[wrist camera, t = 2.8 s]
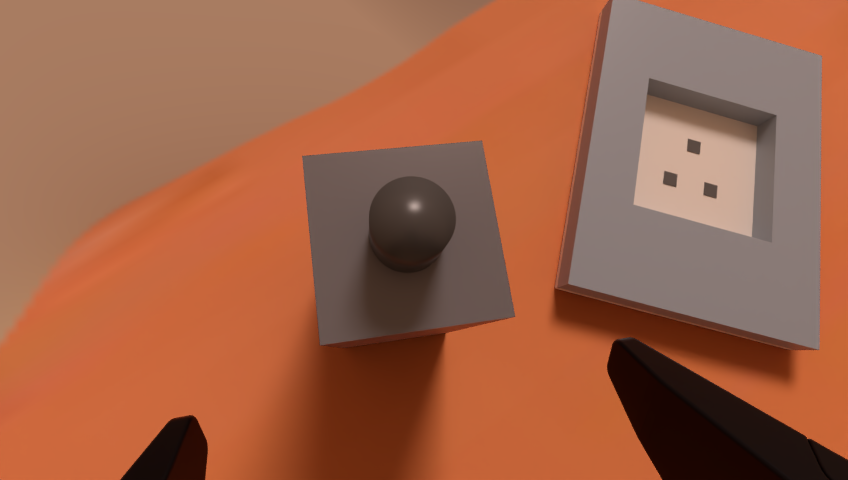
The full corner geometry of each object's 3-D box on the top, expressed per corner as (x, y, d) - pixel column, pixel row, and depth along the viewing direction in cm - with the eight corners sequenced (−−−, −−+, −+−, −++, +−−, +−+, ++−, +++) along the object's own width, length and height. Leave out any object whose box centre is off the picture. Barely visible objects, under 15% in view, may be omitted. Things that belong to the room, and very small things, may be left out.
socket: (789, 350, 22) (819, 350, 20) (554, 288, 21) (568, 283, 20) (796, 72, 26) (821, 55, 25) (599, 13, 25) (613, -7, 24)
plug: (445, 332, 20) (538, 311, 9) (344, 348, 20) (311, 344, 8) (430, 236, 21) (498, 110, 10) (333, 247, 21) (291, 126, 9)
